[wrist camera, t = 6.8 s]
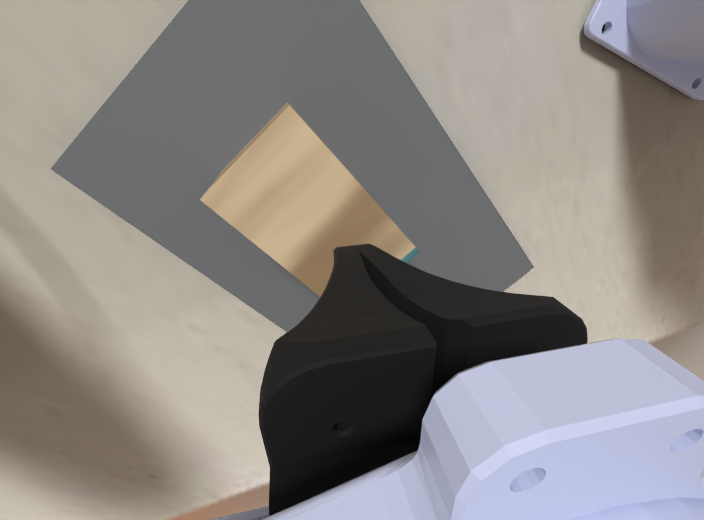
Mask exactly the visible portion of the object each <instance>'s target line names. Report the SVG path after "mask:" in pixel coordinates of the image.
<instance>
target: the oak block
mask: <svg viewBox="0 0 704 520" xmlns="http://www.w3.org/2000/svg"><path fill="white" fill-rule="evenodd" d="M200 200H201V201H202V202H203V203H204V204H206V205H207V206H208V207H209V208H211V209H212V210H213V211H214V212H216V213H217V214H218V215H219V216H221V217H222V218H223V219H224V220H226V221H227V222H228V223H229V224H230V225H232V226H233V227H234V228H235V229H237V230H238V231H239V232H240V233H242V234H243V235H244V236H245V237H247V238H248V239H249V240H250V241H252V242H253V243H254V244H255V245H257V246H258V247H259V248H260V249H261V250H263V251H264V252H265V253H266V254H268V255H269V256H270V257H271V258H273V259H274V260H275V261H276V262H278V263H279V264H280V265H281V266H283V267H284V268H285V269H286V270H288V271H289V272H290V273H291V274H292V275H294V276H295V277H296V278H297V279H299V280H300V281H301V282H302V283H304V284H305V285H306V286H307V287H309V288H310V289H311V290H312V291H314V292H315V293H316V294H317V295H318V296H320V297H321V295H322V293H323V292H324V290H325V288H326V286H327V283H328V281H329V278H330V276H331V273H332V269H333V265H334V254H333V250H334V249H335V248H336V247H343V246H352V245H360V244H369V243H370V244H372V245H374V246H376V247H378V248H380V249H381V250H383V251H385V252H387V253H389V254H390V255H392V256H394V257H396V258H398V259H399V260H401V261H403V262H405V263H407V262H408V261H409V260H410V259H411V258H413V257H414V256H415V255H416V254H417V253H419V252H420V251H419V250H418V249H417V248H416V247H415V246H414V244H413V243H412V242H411V241H410V240H409V239H408V238H407V236H406V235H405V234H404V233H403V232H402V231H401V230H400V228H399V227H398V226H397V225H396V224H395V223H394V222H393V220H392V219H391V218H390V217H389V216H388V215H387V214H386V212H385V211H384V210H383V209H382V208H381V207H380V206H379V205H378V203H377V202H376V201H375V200H374V199H373V198H372V197H371V196H370V194H369V193H368V192H367V191H366V190H365V189H364V188H363V187H362V185H361V184H360V183H359V182H358V181H357V180H356V179H355V178H354V176H353V175H352V174H351V173H350V172H349V171H348V170H347V169H346V167H345V166H344V165H343V164H342V163H341V162H340V161H339V160H338V158H337V157H336V156H335V155H334V154H333V153H332V152H331V151H330V149H329V148H328V147H327V146H326V145H325V144H324V143H323V141H322V140H321V139H320V138H319V137H318V136H317V135H316V134H315V132H314V131H313V130H312V129H311V128H310V127H309V126H308V125H307V123H306V122H305V121H304V120H303V119H302V118H301V117H300V116H299V114H298V113H297V112H296V111H295V110H294V109H293V108H292V107H291V105H290V104H289V103H288V102H287V103H286V105H285V106H284V107H283V108H282V109H281V110H280V111H279V112H278V113H277V114H276V115H275V116H274V117H273V118H272V119H271V120H270V121H269V122H268V123H267V124H266V125H265V127H264V128H263V129H262V130H261V131H260V132H259V133H258V134H257V135H256V136H255V137H254V138H253V139H252V140H251V141H250V142H249V143H248V144H247V145H246V146H245V148H244V149H243V150H242V151H241V152H240V153H239V154H238V155H237V156H236V157H235V158H234V159H233V160H232V161H231V162H230V163H229V164H228V165H227V166H226V167H225V169H224V170H223V171H222V172H221V173H220V174H219V175H218V177H217V178H216V179H215V181H214V182H213V183H212V184H211V186H210V187H209V188H208V190H207V191H206V192H205V194H204V195H203V196H202V197H201V199H200Z"/></svg>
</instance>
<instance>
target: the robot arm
mask: <svg viewBox="0 0 704 520" xmlns="http://www.w3.org/2000/svg"><path fill="white" fill-rule="evenodd" d="M603 25H605V29H604V32H603V33H602V27H603ZM584 34H585V35H586V36H587V37H588V38H590V39H591V40H593V41H595V42H596V43H598V44H600V45H602V46H603V47H605V48H607V49H608V50H610V51H612V52H614V53H615V54H617V55H619V56H620V57H622V58H624V59H626V60H627V61H629V62H631V63H632V64H634V65H636V66H638V67H639V68H641V69H643V70H644V71H646V72H648V73H650V74H651V75H653V76H655V77H656V78H658V79H660V80H662V81H663V82H665V83H667V84H668V85H670V86H672V87H674V88H675V89H677V90H679V91H680V92H682V93H684V94H685V95H687V96H689V97H691V98H692V99H694V100H704V0H596V2H595V3H594V5H593V7H592V9H591V11H590V13H589V15H588V17H587V19H586V21H585V24H584ZM333 254H334V265H333V269H332V273H331V276H330V278H329V281H328V283H327V286H326V288H325V290H324V292H323V293H322V295H321V297H320V299H319V300H318V301H317V303H316V304H315V306H314V307H313V309H312V310H311V311H310V312H309V313H308V315H307V316H306V317H305V318H304V319H303V320H302V321H301V322H300V323H299V324H298V325H296V326H295V327H294V328H293V329H291V330H290V331H288V332H287V333H286V334H284V335H283V336H282V337H280V338H279V339H277V340H276V341H275V343H274V345H273V348H272V351H271V353H270V356H269V359H268V362H267V365H266V369H265V372H264V377H263V381H262V386H261V391H260V403H259V426H260V430H261V434H262V438H263V442H264V446H265V450H266V453H267V457H268V461H269V465H270V489H269V491H270V492H269V506H267V507H263V508H259V509H254V510H250V511H246V512H241V513H237V514H233V515H228V516H224V517H220V518H215V519H211V520H704V381H703V380H701V379H700V378H698V377H697V376H696V375H694V374H693V373H691V372H690V371H688V370H687V369H685V368H684V367H682V366H681V365H679V364H678V363H676V362H675V361H673V360H672V359H671V358H669V357H668V356H666V355H665V354H663V353H662V352H660V351H659V350H657V349H656V348H654V347H653V346H652V345H650V344H649V343H647V342H646V341H644V340H636V339H621V338H618V339H610V340H604V341H599V342H593V343H588V344H587V339H588V338H587V328H586V326H585V324H584V322H583V320H582V319H581V318H580V317H578V316H577V315H576V314H575V313H573V312H572V311H571V310H569V309H568V308H567V307H565V306H564V305H563V304H562V303H560V302H559V301H558V300H556V299H555V298H554V297H547V296H536V295H524V294H514V293H506V292H500V291H494V290H488V289H483V288H478V287H473V286H469V285H465V284H461V283H457V282H454V281H450V280H447V279H444V278H441V277H438V276H435V275H433V274H430V273H427V272H425V271H422V270H420V269H418V268H416V267H414V266H411V265H409V264H407V263H405V262H403V261H401V260H399V259H398V258H396V257H394V256H392V255H390V254H389V253H387V252H385V251H383V250H381V249H380V248H378V247H376V246H374V245H372V244H370V243H369V244H360V245H352V246H343V247H336V248H335V249H334V250H333Z"/></svg>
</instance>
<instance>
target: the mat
mask: <svg viewBox="0 0 704 520" xmlns="http://www.w3.org/2000/svg"><path fill="white" fill-rule="evenodd" d="M287 102H288V103H289V104H290V105H291V107H292V108H293V109H294V110H295V111H296V112H297V113H298V114H299V116H300V117H301V118H302V119H303V120H304V121H305V122H306V123H307V125H308V126H309V127H310V128H311V129H312V130H313V131H314V132H315V134H316V135H317V136H318V137H319V138H320V139H321V140H322V141H323V143H324V144H325V145H326V146H327V147H328V148H329V149H330V151H331V152H332V153H333V154H334V155H335V156H336V157H337V158H338V160H339V161H340V162H341V163H342V164H343V165H344V166H345V167H346V169H347V170H348V171H349V172H350V173H351V174H352V175H353V176H354V178H355V179H356V180H357V181H358V182H359V183H360V184H361V185H362V187H363V188H364V189H365V190H366V191H367V192H368V193H369V194H370V196H371V197H372V198H373V199H374V200H375V201H376V202H377V203H378V205H379V206H380V207H381V208H382V209H383V210H384V211H385V212H386V214H387V215H388V216H389V217H390V218H391V219H392V220H393V222H394V223H395V224H396V225H397V226H398V227H399V228H400V230H401V231H402V232H403V233H404V234H405V235H406V236H407V238H408V239H409V240H410V241H411V242H412V243H413V244H414V246H415V247H416V248H417V249H418V250H419V251H420V252H419V253H417V254H416V255H415V256H414V257H413V258H411V259H410V260H409V261H408V262H407V264H409V265H411V266H414V267H416V268H418V269H420V270H422V271H425V272H427V273H430V274H433V275H435V276H438V277H441V278H444V279H447V280H450V281H454V282H457V283H461V284H465V285H469V286H473V287H478V288H483V289H488V290H494V291H500V292H503V291H504V290H505V289H506V288H508V287H509V286H510V285H512V284H513V283H514V282H515V281H517V280H518V279H519V278H521V277H522V276H523V275H524V274H526V273H527V272H528V271H530V270H531V269H532V268H533V267H534V266H533V265H532V263H531V262H530V260H529V259H528V257H527V256H526V254H525V253H524V251H523V250H522V248H521V247H520V245H519V244H518V242H517V240H516V239H515V237H514V236H513V234H512V233H511V231H510V230H509V228H508V227H507V225H506V224H505V222H504V221H503V219H502V218H501V216H500V215H499V213H498V211H497V210H496V208H495V207H494V205H493V204H492V202H491V201H490V199H489V198H488V196H487V195H486V193H485V192H484V190H483V189H482V187H481V185H480V184H479V182H478V181H477V179H476V178H475V176H474V175H473V173H472V172H471V170H470V169H469V167H468V166H467V164H466V163H465V161H464V159H463V158H462V156H461V155H460V153H459V152H458V150H457V149H456V147H455V146H454V144H453V143H452V141H451V140H450V138H449V137H448V135H447V133H446V132H445V130H444V129H443V127H442V126H441V124H440V123H439V121H438V120H437V118H436V117H435V115H434V114H433V112H432V111H431V109H430V107H429V106H428V104H427V103H426V101H425V100H424V98H423V97H422V95H421V94H420V92H419V91H418V89H417V88H416V86H415V85H414V83H413V82H412V80H411V78H410V77H409V75H408V74H407V72H406V71H405V69H404V68H403V66H402V65H401V63H400V62H399V60H398V59H397V57H396V56H395V54H394V52H393V51H392V49H391V48H390V46H389V45H388V43H387V42H386V40H385V39H384V37H383V36H382V34H381V33H380V31H379V30H378V28H377V26H376V25H375V23H374V22H373V20H372V19H371V17H370V16H369V14H368V13H367V11H366V10H365V8H364V7H363V5H362V4H361V2H360V0H189V1H188V2H187V3H186V4H185V5H184V7H183V8H182V9H181V10H180V12H179V13H178V14H177V15H176V16H175V18H174V19H173V20H172V21H171V23H170V24H169V25H168V26H167V27H166V29H165V30H164V31H163V32H162V33H161V35H160V36H159V37H158V38H157V40H156V41H155V42H154V43H153V44H152V46H151V47H150V48H149V49H148V51H147V52H146V53H145V54H144V55H143V57H142V58H141V59H140V60H139V62H138V63H137V64H136V65H135V66H134V68H133V69H132V70H131V71H130V73H129V74H128V75H127V76H126V77H125V79H124V80H123V81H122V82H121V84H120V85H119V86H118V87H117V88H116V90H115V91H114V92H113V93H112V95H111V96H110V97H109V98H108V99H107V101H106V102H105V103H104V104H103V105H102V107H101V108H100V109H99V110H98V112H97V113H96V114H95V115H94V116H93V118H92V119H91V120H90V121H89V123H88V124H87V125H86V126H85V127H84V129H83V130H82V131H81V132H80V134H79V135H78V136H77V137H76V138H75V140H74V141H73V142H72V143H71V145H70V146H69V147H68V148H67V149H66V151H65V152H64V153H63V154H62V156H61V157H60V158H59V159H58V160H57V162H56V163H55V164H54V165H53V167H52V168H51V169H52V170H53V171H54V172H56V173H57V174H59V175H60V176H62V177H63V178H65V179H66V180H67V181H69V182H70V183H72V184H73V185H75V186H76V187H78V188H79V189H81V190H82V191H83V192H85V193H86V194H88V195H89V196H91V197H92V198H94V199H95V200H96V201H98V202H99V203H101V204H102V205H104V206H105V207H107V208H108V209H110V210H111V211H112V212H114V213H115V214H117V215H118V216H120V217H121V218H123V219H124V220H125V221H127V222H128V223H130V224H131V225H133V226H134V227H136V228H137V229H139V230H140V231H141V232H143V233H144V234H146V235H147V236H149V237H150V238H152V239H153V240H154V241H156V242H157V243H159V244H160V245H162V246H163V247H165V248H166V249H168V250H169V251H170V252H172V253H173V254H175V255H176V256H178V257H179V258H181V259H182V260H183V261H185V262H186V263H188V264H189V265H191V266H192V267H194V268H195V269H197V270H198V271H199V272H201V273H202V274H204V275H205V276H207V277H208V278H210V279H211V280H212V281H214V282H215V283H217V284H218V285H220V286H221V287H223V288H224V289H226V290H227V291H228V292H230V293H231V294H233V295H234V296H236V297H237V298H239V299H240V300H241V301H243V302H244V303H246V304H247V305H249V306H250V307H252V308H253V309H255V310H256V311H257V312H259V313H260V314H262V315H263V316H265V317H266V318H268V319H269V320H270V321H272V322H273V323H275V324H276V325H278V326H279V327H281V328H282V329H284V330H285V331H286V332H288V331H290V330H291V329H293V328H294V327H295V326H296V325H298V324H299V323H300V322H301V321H302V320H303V319H304V318H305V317H306V316H307V315H308V313H309V312H310V311H311V310H312V309H313V307H314V306H315V304H316V303H317V301H318V300H319V299H320V296H318V295H317V294H316V293H315V292H314V291H312V290H311V289H310V288H309V287H307V286H306V285H305V284H304V283H302V282H301V281H300V280H299V279H297V278H296V277H295V276H294V275H292V274H291V273H290V272H289V271H288V270H286V269H285V268H284V267H283V266H281V265H280V264H279V263H278V262H276V261H275V260H274V259H273V258H271V257H270V256H269V255H268V254H266V253H265V252H264V251H263V250H261V249H260V248H259V247H258V246H257V245H255V244H254V243H253V242H252V241H250V240H249V239H248V238H247V237H245V236H244V235H243V234H242V233H240V232H239V231H238V230H237V229H235V228H234V227H233V226H232V225H230V224H229V223H228V222H227V221H226V220H224V219H223V218H222V217H221V216H219V215H218V214H217V213H216V212H214V211H213V210H212V209H211V208H209V207H208V206H207V205H206V204H204V203H203V202H202V201H201V200H200V199H201V197H202V196H203V195H204V194H205V192H206V191H207V190H208V188H209V187H210V186H211V184H212V183H213V182H214V181H215V179H216V178H217V177H218V175H219V174H220V173H221V172H222V171H223V170H224V169H225V167H226V166H227V165H228V164H229V163H230V162H231V161H232V160H233V159H234V158H235V157H236V156H237V155H238V154H239V153H240V152H241V151H242V150H243V149H244V148H245V146H246V145H247V144H248V143H249V142H250V141H251V140H252V139H253V138H254V137H255V136H256V135H257V134H258V133H259V132H260V131H261V130H262V129H263V128H264V127H265V125H266V124H267V123H268V122H269V121H270V120H271V119H272V118H273V117H274V116H275V115H276V114H277V113H278V112H279V111H280V110H281V109H282V108H283V107H284V106H285V105H286V103H287Z"/></svg>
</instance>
